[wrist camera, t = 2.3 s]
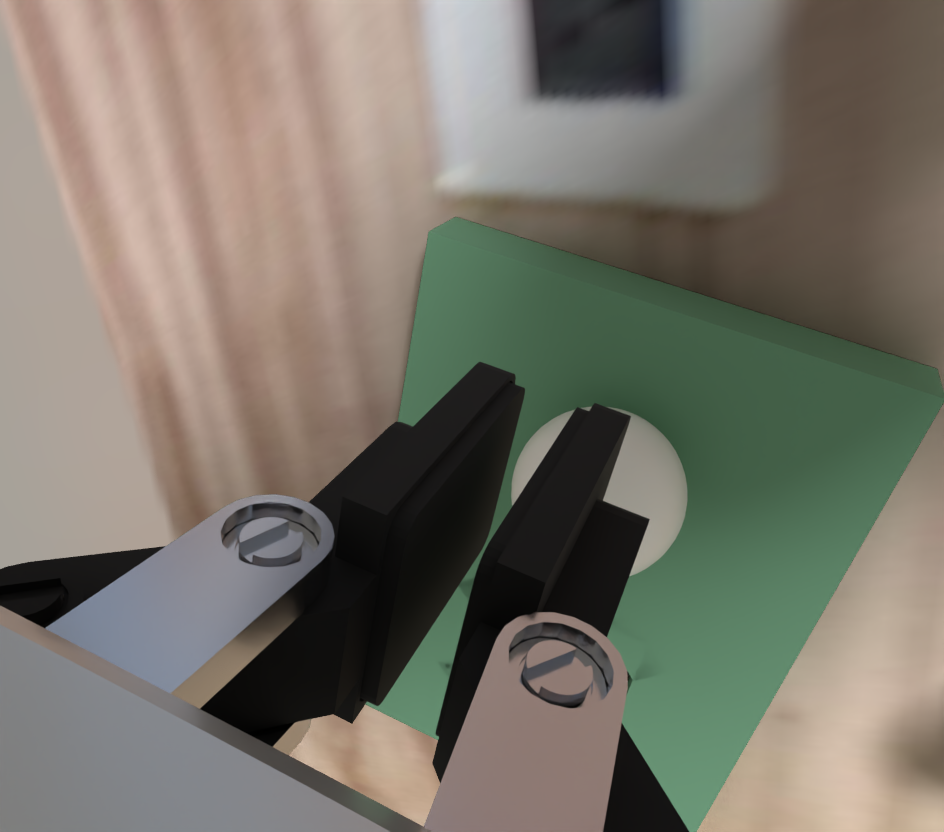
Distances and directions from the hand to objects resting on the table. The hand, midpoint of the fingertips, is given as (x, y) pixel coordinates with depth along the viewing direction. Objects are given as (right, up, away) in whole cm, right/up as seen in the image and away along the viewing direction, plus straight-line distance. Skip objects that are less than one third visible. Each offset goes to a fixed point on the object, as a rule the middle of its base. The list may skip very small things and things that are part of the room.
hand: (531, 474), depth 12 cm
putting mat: (+4, -5, +24) cm, 25 cm away
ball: (+4, -2, +16) cm, 16 cm away
